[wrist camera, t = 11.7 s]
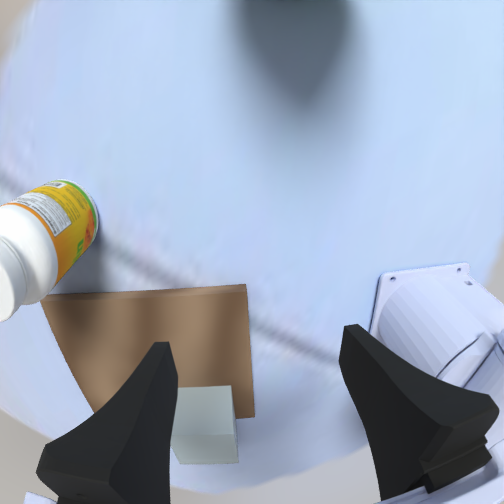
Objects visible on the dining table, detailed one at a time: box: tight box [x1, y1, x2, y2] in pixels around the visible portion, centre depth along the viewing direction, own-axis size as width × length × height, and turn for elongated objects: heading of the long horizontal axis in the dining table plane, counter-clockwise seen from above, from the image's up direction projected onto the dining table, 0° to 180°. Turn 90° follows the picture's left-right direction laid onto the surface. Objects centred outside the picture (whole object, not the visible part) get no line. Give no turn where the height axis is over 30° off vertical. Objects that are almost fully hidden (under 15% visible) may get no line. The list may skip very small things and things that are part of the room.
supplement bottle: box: [0, 179, 98, 322], centre depth 14 cm, size 5×5×10 cm
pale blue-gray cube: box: [170, 385, 239, 464], centre depth 23 cm, size 5×5×5 cm
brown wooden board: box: [40, 284, 255, 419], centre depth 24 cm, size 16×14×1 cm
